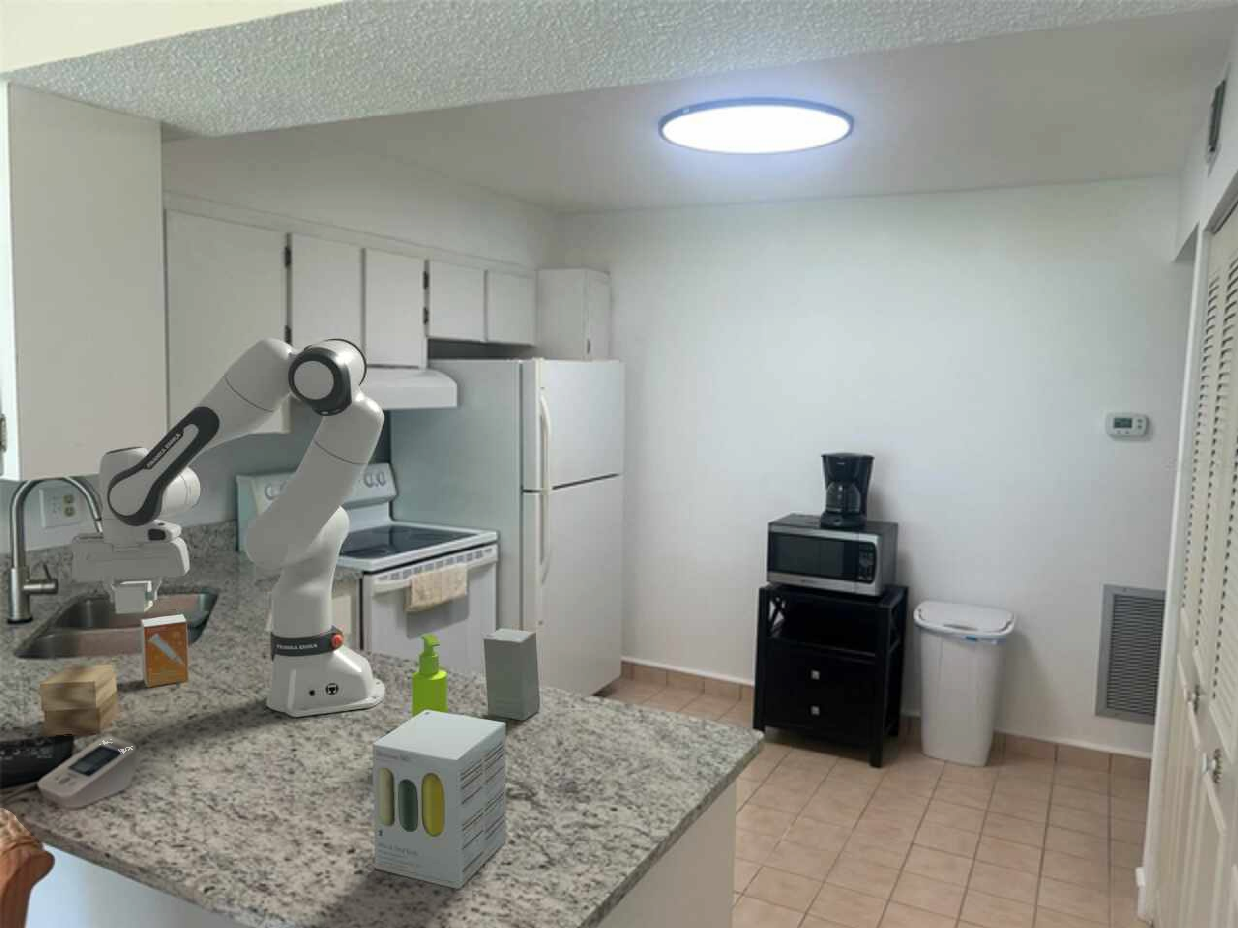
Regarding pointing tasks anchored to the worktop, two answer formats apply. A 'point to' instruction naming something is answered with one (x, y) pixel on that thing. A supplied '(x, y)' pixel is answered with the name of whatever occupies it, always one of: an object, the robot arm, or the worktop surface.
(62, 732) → the block
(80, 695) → the tower top
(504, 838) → the supplement box
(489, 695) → the skincare box
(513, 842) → the worktop surface
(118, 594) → the cube
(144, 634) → the small box
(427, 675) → the soap dispenser
